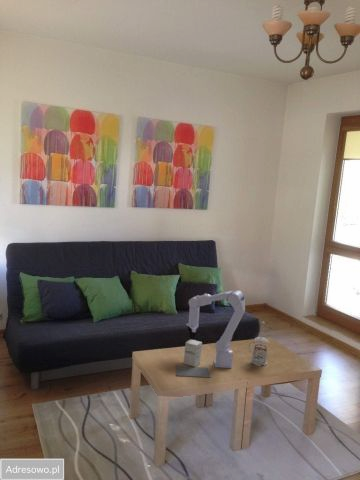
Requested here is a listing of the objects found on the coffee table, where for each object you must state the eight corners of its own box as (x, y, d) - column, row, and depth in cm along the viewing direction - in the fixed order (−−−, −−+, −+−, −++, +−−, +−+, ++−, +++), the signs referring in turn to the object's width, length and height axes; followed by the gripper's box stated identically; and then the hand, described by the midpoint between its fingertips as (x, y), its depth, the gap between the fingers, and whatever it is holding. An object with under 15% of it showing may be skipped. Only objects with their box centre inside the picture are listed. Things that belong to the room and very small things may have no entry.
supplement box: (183, 363, 236) (184, 342, 234) (188, 359, 242) (190, 338, 241) (194, 367, 232) (196, 345, 231) (200, 363, 239) (202, 341, 237)
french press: (266, 367, 239) (270, 325, 236) (246, 363, 243) (250, 322, 239) (268, 360, 249) (272, 320, 245) (249, 356, 252) (253, 317, 248)
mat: (208, 368, 233) (208, 367, 233) (210, 377, 222) (210, 377, 222) (176, 366, 232) (176, 365, 232) (176, 376, 222) (176, 375, 222)
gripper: (186, 312, 250) (184, 334, 253) (187, 321, 236) (185, 344, 238) (198, 313, 251) (196, 335, 253) (200, 321, 236) (198, 344, 239)
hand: (192, 339), depth 246 cm, fingers closed
